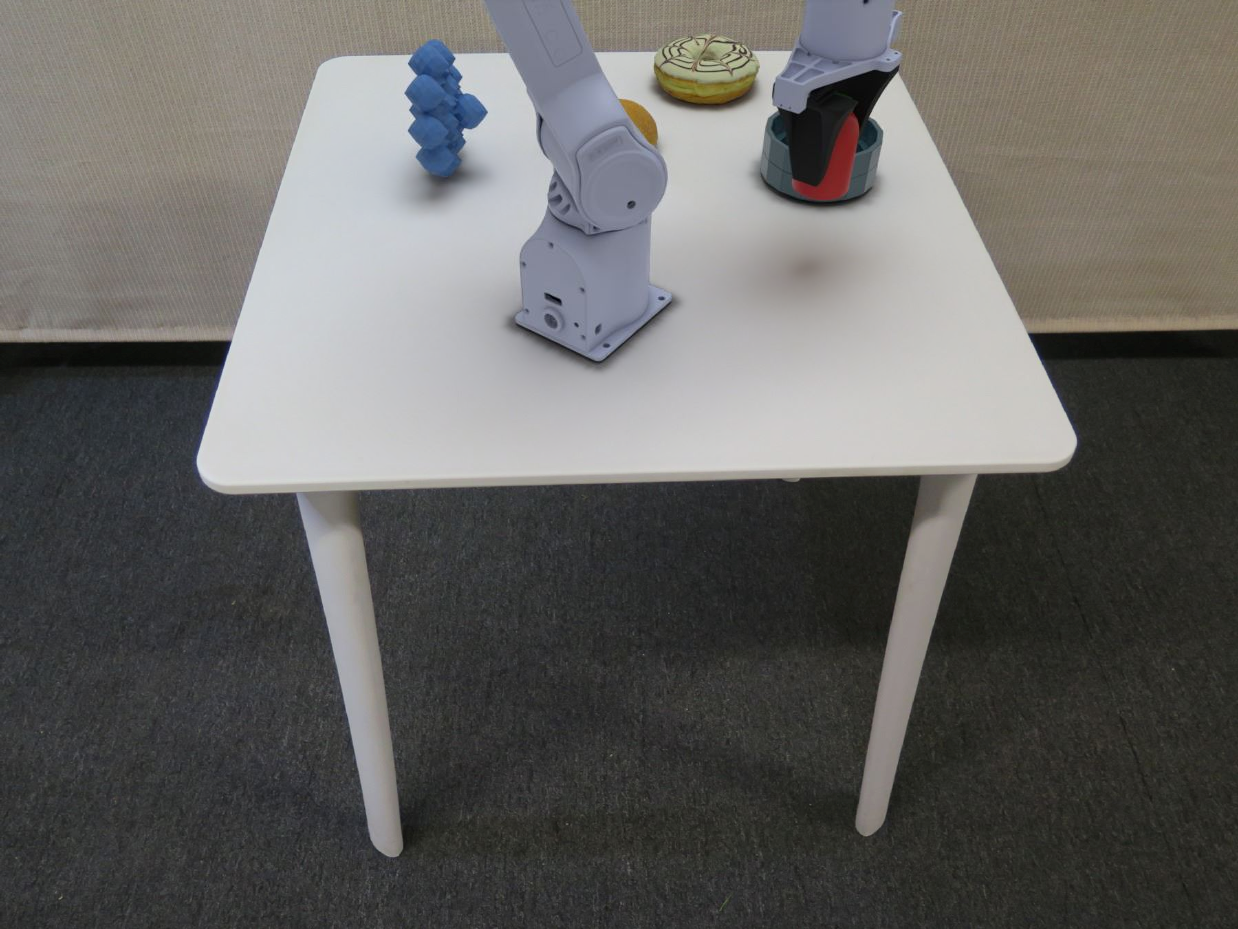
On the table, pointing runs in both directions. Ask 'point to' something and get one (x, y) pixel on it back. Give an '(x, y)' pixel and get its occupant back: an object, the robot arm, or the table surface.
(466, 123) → the grapes
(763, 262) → the table surface
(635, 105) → the bread roll
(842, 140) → the red jar green lid
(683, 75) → the decorated donut
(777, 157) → the dessert bowl
